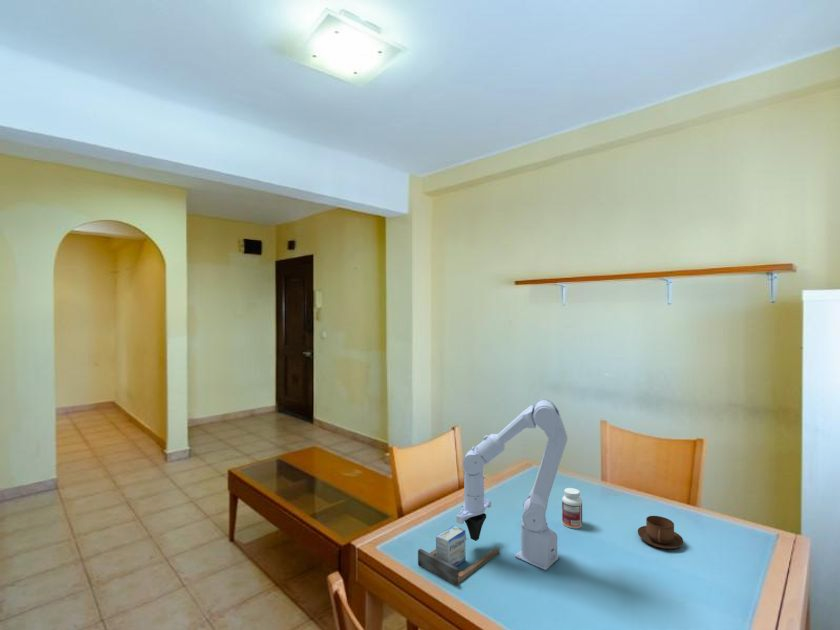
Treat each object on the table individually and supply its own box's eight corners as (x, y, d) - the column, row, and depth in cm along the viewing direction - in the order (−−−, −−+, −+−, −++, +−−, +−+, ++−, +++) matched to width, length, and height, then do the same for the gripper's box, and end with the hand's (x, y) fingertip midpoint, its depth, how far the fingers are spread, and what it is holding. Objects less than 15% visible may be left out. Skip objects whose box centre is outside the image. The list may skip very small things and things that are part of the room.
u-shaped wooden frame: (499, 552, 124) (499, 539, 124) (456, 585, 109) (455, 569, 109) (462, 536, 133) (462, 523, 133) (417, 564, 118) (417, 550, 118)
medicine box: (448, 573, 114) (448, 541, 114) (435, 567, 117) (435, 535, 117) (466, 560, 120) (466, 529, 120) (453, 554, 123) (453, 524, 123)
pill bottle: (568, 517, 144) (568, 485, 144) (586, 525, 140) (586, 491, 139) (558, 523, 140) (558, 490, 140) (575, 531, 136) (575, 496, 135)
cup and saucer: (690, 555, 123) (690, 533, 123) (644, 550, 125) (644, 529, 125) (674, 533, 134) (674, 513, 134) (632, 529, 137) (632, 510, 137)
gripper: (477, 481, 134) (478, 525, 134) (447, 496, 123) (448, 543, 124) (496, 487, 129) (497, 532, 129) (467, 504, 119) (468, 553, 119)
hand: (474, 538), depth 126 cm, fingers closed
